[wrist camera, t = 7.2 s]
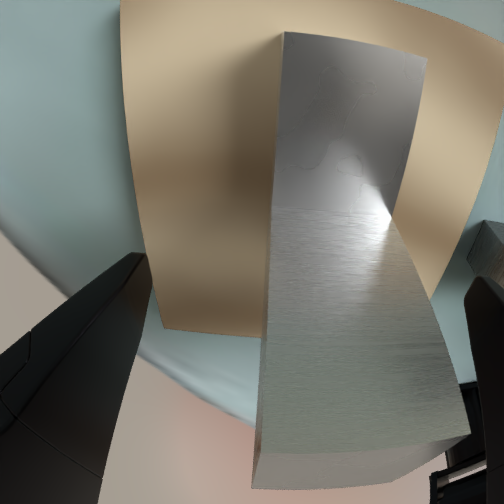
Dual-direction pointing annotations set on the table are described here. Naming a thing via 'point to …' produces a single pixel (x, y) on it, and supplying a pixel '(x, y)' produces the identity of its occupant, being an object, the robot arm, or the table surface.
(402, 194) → the board
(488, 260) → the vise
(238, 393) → the table surface
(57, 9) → the table surface
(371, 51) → the brushed metal step block
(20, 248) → the table surface
